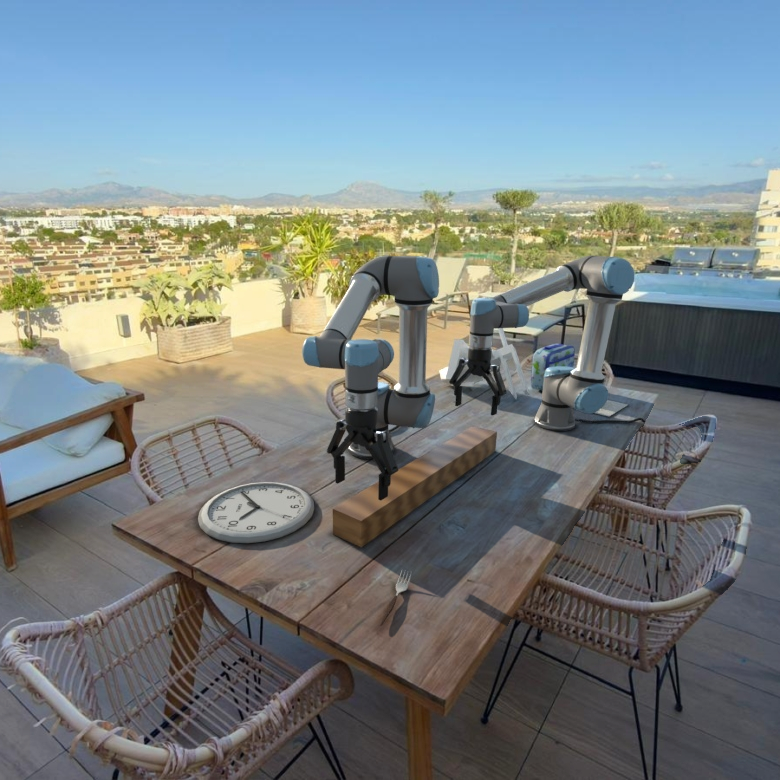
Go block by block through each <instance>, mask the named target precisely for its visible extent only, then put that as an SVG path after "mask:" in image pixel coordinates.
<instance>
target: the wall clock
mask: <svg viewBox="0 0 780 780" xmlns="http://www.w3.org/2000/svg"><path fill="white" fill-rule="evenodd" d="M314 512H315V503H314V499H313V498H312V497H311V495H310V493H307V492H306V491H304V490H303V489H301V488H300V487H297V486H295V485H292V484H289V483H283V482H276V481H275V482H274V481H273V482H272V481H261V482H251V483H245V484H241V485H237V486H235V487H234V486H233V487H231V488H229V489H226V490H224V491H222V492H219V493H217V494H215V495H214V496H213V497H211V499H209V500H208V501H206V502H205V503H204V505H202V507H201V509H200V510H199V512H198V518H197V521H198V525H199V528H200V530H202V531H203V532H204V533H205V534H206V535H207V536H210V537H212V538H213V539H215V540H218V541H222V542H227V543H233V544H234V543H235V544H253V543H262V542H269V541H272V540H276V539H280V538H283V537H285V536H287V535H290V534H292V533H294V532H296V531H298V530H299V529H300V528H302V527H304V526H305V525H306V524H307V523H308V522H309V520H310V519H312V517H313V515H314Z"/></svg>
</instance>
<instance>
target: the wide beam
mask: <svg viewBox="0 0 780 780" xmlns="http://www.w3.org/2000/svg"><path fill="white" fill-rule="evenodd" d="M497 437H498V431H495V430H492V429H488V428H484V427H481V426H476V425H471V426H470V427H468V428H467V429H464V430H463V431H461V432H460V433H458V434H455V436H453V437H451V438H450V439H447V440H446V441H445V442H443V443H441V444H439V445H438V446H436V447H434V448H432V449H431V450H429V451H428V452H426V453H424V454H422V455H421V456H419V457H417V458H416V459H414V460H413V461H410V462H409V463H407V464H405V465H404V466H402V467H400V468H398V471H397V472H396V473H394V474H392V475H391V484H390V486H388V497H386V498H384V499H383V500H378V494H379V480H378V481H376V482H375V483H373V484H372V485H370V486H368V487H367V488H365V489H363V490H362V491H360V492H358V493H356V494H355V495H353V496H351V497H349V498H348V499H346V500H345V501H343V502H341V503H339V504H338V505H336V506H334V507H333V508H332V535H333V536H336V537H338V538H340V539H342V540H343V541H347V542H349V543H351V544H353V545H354V546H357V547H359V548H363V547H364V546H366V545H367V544H369V543H370V542H371V541H373V540H374V539H375V538H377V537H378V536H379V535H381V534H382V533H384V532H386V531H387V530H388V529H389V528H391V527H392V526H394V525H395V524H396V523H397V522H399V521H400V520H401V519H403V518H405V517H406V516H407V515H409V514H411V512H413V511H414V510H416V509H417V508H419V507H420V506H421V505H423V504H424V503H426V502H427V501H429V500H430V499H431V498H432V497H434V496H435V495H436V494H438V493H440V492H441V491H442V490H443V489H446V487H447V486H449V485H451V484H452V483H453V482H455V481H456V480H458V479H459V478H460V477H462V476H464V475H465V474H466V473H467V472H468V471H470V470H471V469H473V468H475V466H477V465H479V464H480V463H481V462H482V461H484V460H486V459H487V458H488V457H490V456H491V455H492V454H494V453H495V452H496V450H497Z"/></svg>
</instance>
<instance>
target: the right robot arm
mask: <svg viewBox="0 0 780 780" xmlns="http://www.w3.org/2000/svg"><path fill="white" fill-rule="evenodd" d="M634 283H635V270H634V267H633V266H632V263H631V262H630V261H628V260H627V259H625V258H621V257H617V256H603V255H587V256H583V257H580V258H577V259H574V260H571V261H569V262H566V263H564V264H562V265H560V266H557V268H556V270H555V271H553V272H550V273H547V274H546V275H545V274H544V275H542V276H541V277H539V278H536V279H534V280H531V281H529V282H526V283H524V284H522V285H519V286H516V287H515V288H511V289H509V290H507V291H505V292H503V293H500V294H497V295H495V296H492V297H479V298H474V299H473V300H472V302H471V305H470V306H471V307H470V317H469V319H470V320H469V334H468V335H469V336H468V346H469V348H468V360H466V359H465V358H463V359H460V360H459V365H458V367H457V369H456V370H455V372H454V374H453V376H452V378H451V380H450V381H449V383H450V385H453V396H455V401H454V403H455V404H454V405H455V407H459V406H461V405H462V401H463V385H462V384H464V383H463V382H464V381H465V380H466V379H467V378H468V377H469V376H470V375H471V374H473V375H478V376H480V377H481V376H483V380H485V381H486V383H487V385H488V386H489V388H490V389H491V391H492V393H493V394H494V395H492V396H491V409H490V416H495V415H497V414H498V406H500V405H501V400H502V399H501V398H502V397H503V396H505V395H507V394H508V391H507V387H506V385H505V382H504V379H503V376H502V374H501V365H491V356H492V350H493V348H492V347H493V344H494V343H493V342H494V332H495V331H494V330H495V329H498V328H503V329H518V328H523V327H525V326H527V325H528V322H529V321H530V311H529V308H528V307H529V306H531V305H533V304H536V303H538V302H540V301H543V300H545V299H547V298H550V297H553V296H554V295H557V294H559V293H561V292H565V293H569V292H571V291H574V290H577V289H578V290H582V289H583V290H585V289H586V294H585V296H586V298H587V299H588V300H589V301H588V306H587V310H586V311H587V312H586V316H585V321H584V326H583V331H582V337H581V341H580V346H579V351H578V356H577V361H576V365H575V367H574V366H573V367H565V366H556V367H549V368H547V369H546V370H545V374H544V381H543V390H541V391H542V394H541V402H540V405H539V407H538V410H537V411H536V413H535V416H534V424H535V425H536V426H537V427H539V428H542V429H544V430H549V431H556V432H567V431H572V430H574V429H575V428H576V422H579V423H586V424H601V423H603V424H605V423H610V424H613V423H614V424H632V423H636V422H639V421H641V422H643V423H646V420H645V419H644V418H642V417H637V418H634V419H631V420H621V419H620V420H616V419H600V420H598V419H597V420H589V419H587V420H586V419H581V418H575V417H576V416H575V413H574V409H575V410H576V411H577V412H580V413H584V414H587V415H590V414H596V413H595V412H597V411H599V409H601V408H602V407H603V406H604V405H605V403H606V402H607V400H609V390H608V388H607V387H606V385H604V383H605V378H606V377H605V375H604V374H603V372H602V371H603V366H604V361H605V356H606V352H607V348H608V343H609V338H610V334H611V330H612V329H611V328H612V325H613V319H614V314H615V310H616V306H617V304H618V303H620V302H621V301H622V300H623V296H624V294H626V293H628V292H629V291H630V289H632V287H633V286H634ZM491 348H492V349H491ZM466 364H467V366H468V368H469V369H468V370H467V371H466V372H465V373H464V374H463V375H462V376H461V377H460V378H459V379H458V377H459V376H460V374H461V372H462V370H463V368H464V367H465V365H466ZM490 369H491V370H492V372H490V371H489V370H490ZM486 374H487V375H486ZM492 375H493V376H492ZM457 379H458V380H457Z"/></svg>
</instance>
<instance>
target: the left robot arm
mask: <svg viewBox="0 0 780 780" xmlns="http://www.w3.org/2000/svg"><path fill="white" fill-rule="evenodd" d="M439 292H440V276H439V270H438V266H437V263H436V261H435V260H434V258H432V257H425V256H421V255H420V256H419V255H418V256H413V255H412V256H411V255H410V256H409V255H408V256H407V255H403V256H402V255H382V256H377V257H375V258H373V259H370V260H368V261H367V262H365V263H364V264H363V265H361V266H360V267H359V268H358V269H357V270H356V271H355V272H354V273H353V275H352V276H351V278H350V279H349V282H348V289H347V291H346V293H345V294H344V296H343V298H342V299H341V301H340V303H339V304H338V306H337V307H336V309H335V310H334V313H332V315H331V317H330V319H329V320H328V322H327V324H326V325H325V327H324V329H323V330H322V332H321V333H320V335H319V336H317V335H314V336H308V337H306V339H305V340H304V342H303V344H302V351H301V353H302V359H303V361H304V364H306V365H307V366H310V367H314V368H315V367H316V368H320V369H322V368H323V369H333V370H334V369H335V370H344V381H345V382H344V383H345V384H344V385H345V386H344V391H345V392H344V393H345V394H344V395H345V396H344V397H345V401H344V402H345V406H346V407H345V410H344V419H341V420H338V421H336V424H335V430H334V433H333V435H332V437H331V439H330V442H329V444H328V447H327V449H326V453H327V454H331V456H332V458H333V469H334V471H335V474H334V476H335V481H334V483H335V484H340V483H342V482H344V481H345V480H346V456H345V455H344V453H345V452H346V451H347V450H348V453H349V454H350V455H352V456H353V457H356V458H359V459H365V460H373V461H374V462H375V464H376V466H377V467H378V470H379V471H380V473H379V474H378V481H379V494H378V500H383V499H384V498H386V497H388V486H390V484H391V475H392V474H394V473H396V472H397V471H398V470H399V466H398V464H397V461H396V459H395V456H394V453H393V452H394V442H393V439H392V436H391V433H392V432H393V431H395V430H397V429H399V428H400V427H404V428H405V427H406V428H412V429H426V428H427V427H428V426H429V424H430V422H431V420H432V416H433V413H434V409H435V405H436V395H435V394H434V393H433V392H431V386H430V385H429V384H428V383H427V382H426V380H427V379H426V376H427V375H426V374H427V343H428V342H427V340H428V309H429V307H431V306H432V305H433V303H434V299H437V297H439ZM381 296H391V297H394V301H393V302H394V304H395V305H396V307H398V309H399V311H398V312H399V313H398V314H399V315H398V318H399V319H398V320H399V321H398V324H399V325H398V382H397V383H395V384H394V386H393V389H392V388H391V387H390V385H389V383H388V382H387V383H386V382H383V381H379V375H380V373H382V372H384V370H386V369H388V368H389V367H390V365H391V364H392V363H393V361H394V358H395V351H394V347H393V345H392V344H391V343H390V342H389V341H388V340H386V339H383V338H374V339H365V338H360V339H359V338H358V339H353V337H354V335H355V334H356V332H357V330H358V328H359V326H360V324H361V323H362V321H363V319H364V317H365V315H366V313H367V311H368V309H369V308H370V307H371V304H372V302H374V301H376V300H377V299H378V298H379V297H381ZM390 388H391V389H390ZM389 425H390V426H393V427H392V428H390V429H389ZM345 432H346V433H347V435H346V437H345V438H344V439H343V437H344V435H345ZM342 439H343V441H342ZM341 441H342V442H341Z"/></svg>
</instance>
